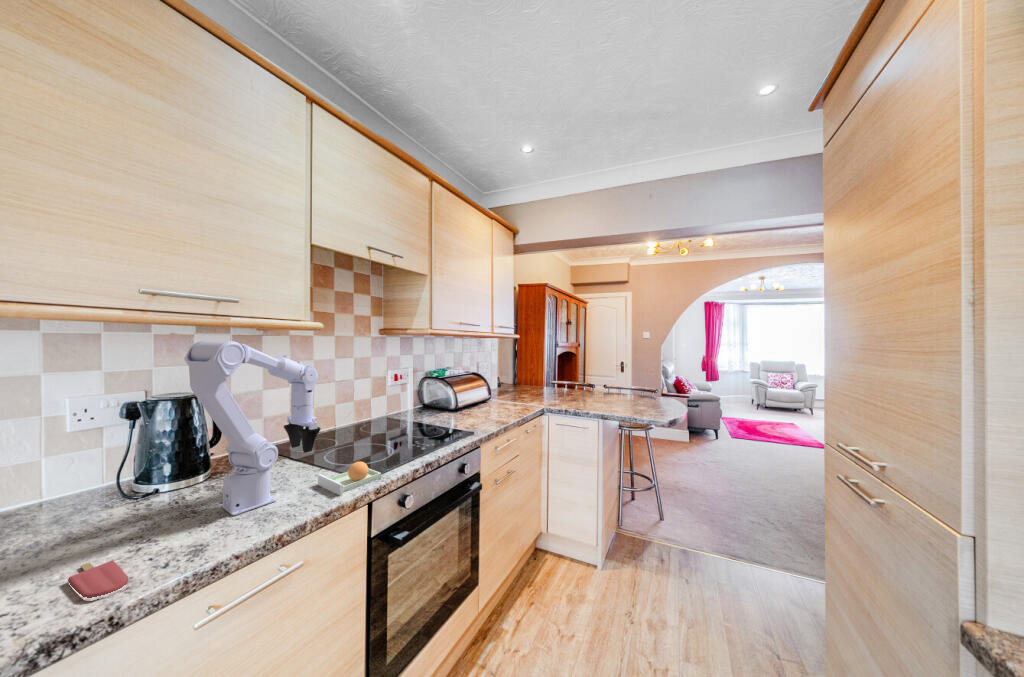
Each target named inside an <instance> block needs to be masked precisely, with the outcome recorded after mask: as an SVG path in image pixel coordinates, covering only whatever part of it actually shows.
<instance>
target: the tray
mask: <svg viewBox="0 0 1024 677" xmlns="http://www.w3.org/2000/svg"><path fill="white" fill-rule="evenodd" d="M329 478H330V479H332V480H334V481H337V482H339V483H341V484H343V493H345V492H347V491H348V492H349V491H351V490H353V489H355V488H359V487H360V486H364V485H367V484H368V483H370V482H373V481H376V480H379V479H381V478H382V472H380V471H377V470H375V469H371V468H369V467H368V474H367V476H366V477H365V478H364V479H362V480H359V481H353V480H351V479H350V478H349V476H348V471H346V472H342V473H339V474H336V475H333V476H331V477H329Z"/></svg>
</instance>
